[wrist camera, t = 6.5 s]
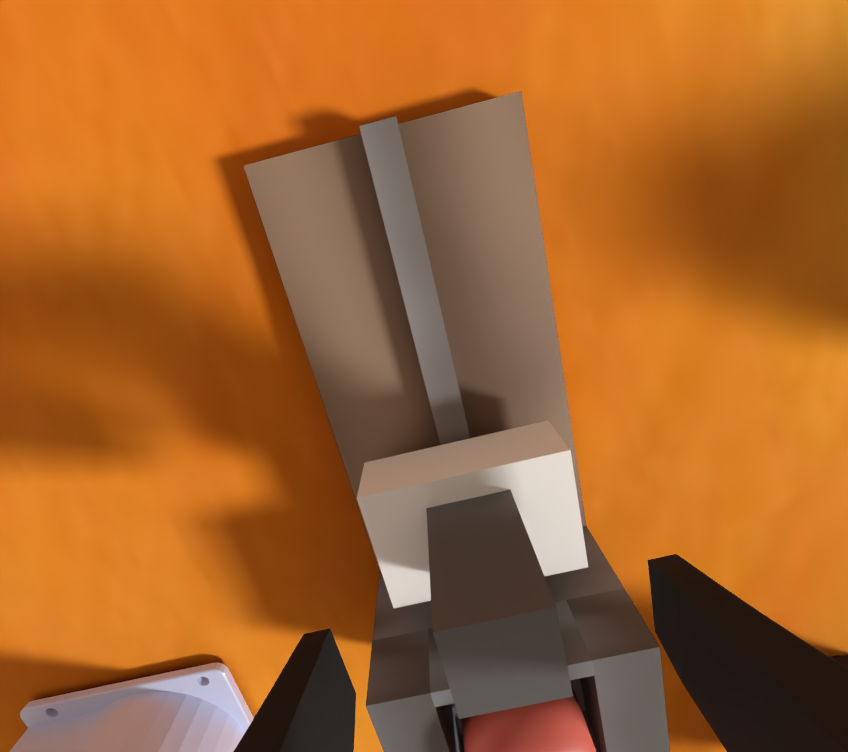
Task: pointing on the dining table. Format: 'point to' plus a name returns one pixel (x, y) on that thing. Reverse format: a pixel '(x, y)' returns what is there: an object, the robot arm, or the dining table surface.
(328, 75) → the dining table surface
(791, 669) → the robot arm
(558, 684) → the carriage
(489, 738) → the button
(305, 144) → the dining table surface
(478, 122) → the rail board
